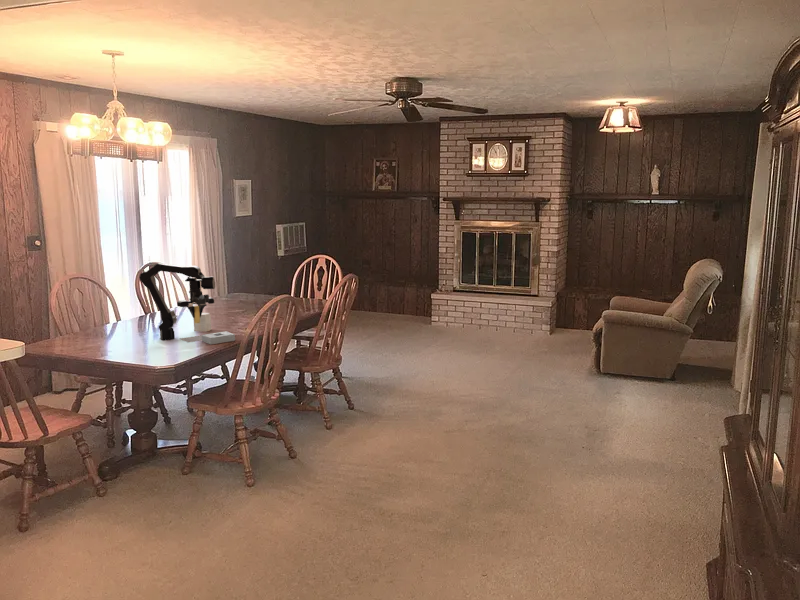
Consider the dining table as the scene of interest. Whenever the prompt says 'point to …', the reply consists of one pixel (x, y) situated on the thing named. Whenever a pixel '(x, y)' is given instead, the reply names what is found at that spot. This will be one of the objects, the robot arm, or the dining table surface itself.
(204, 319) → the small box
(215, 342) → the socket block
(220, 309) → the dining table surface
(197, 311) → the peg
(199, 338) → the mat
